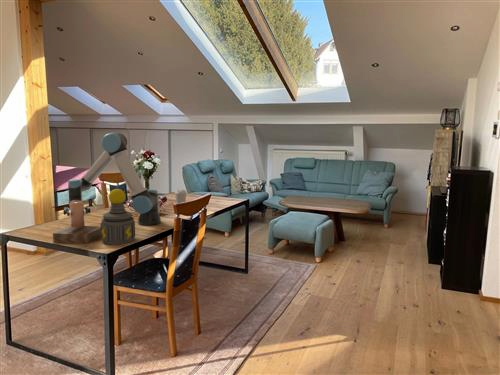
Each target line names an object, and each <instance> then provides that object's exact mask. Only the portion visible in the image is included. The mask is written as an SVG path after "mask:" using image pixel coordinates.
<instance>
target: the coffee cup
mask: <svg viewBox="0 0 500 375" xmlns="http://www.w3.org/2000/svg"><path fill="white" fill-rule="evenodd" d="M174 195H175V202H176V203H181V202H185V203H186V199H187V190H186V189H175V191H174Z"/></svg>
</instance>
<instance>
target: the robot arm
mask: <svg viewBox="0 0 500 375" xmlns="http://www.w3.org/2000/svg"><path fill="white" fill-rule="evenodd" d="M127 146H128V139H127V137H126V136H125V135H124V134H123V133H120V132H110V133H106V134H105V135H104V136H103V137H102V139H101V147H102V149H103V150H104V151H103V152H102V154H101V155H100V156H98V158H97V159H96V160H95V162H94V163H93V164H92V165H91V166H90V168H89V169H88V170H87V171H86V173H85V174H84V175H83V176H82V177H81V178H72V179H69V180H68V184H67V187H68V205H69V207H65V206H64V207H63V215H64V216H67V217H69V218H71V210H70V202H76V201H82V202H83V199H82V198H83V195H82V193H83V192H87V191H88V190H90V189H91V188H92V187H93V186H92V185H93V184H94V182H95V181H96V180H97V179H98V178H99V177H100V175H101V174H103V172H104V170H106V168H107V167H108V166H109V165H110V163H111V162H112V161H114V162H115V164H116V166H117V168H118V170H119V172H120V174H121V176H122V178H123V180H124V182H125V183H126V184H125V185H126V186H127V188H128V190H129V192H130V195H129V197H130V200H131V203H132V204H131V205H132V206H131V207H132V208H133V210H134V211H135V212H136V213H138V214H139V215H138V219H137V224H138V225H142V226H155V224H156V225H159V224H161V223H162V218H161V215H160V212H159V213H158V201H159V193H158V190H157V189H148V188H146V187H144V185H143V184H142V181H141V179H140V178H139V175H138V173H137V171H136V169H135V167H134V165H133V163H132V161H131V159H130V157H129V156H128V151H129V150H128V147H127ZM87 214H91V207H90V206H89V205H86V206H85V205H84V217H86V216H87Z"/></svg>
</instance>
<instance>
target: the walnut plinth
mask: <svg viewBox="0 0 500 375" xmlns="http://www.w3.org/2000/svg"><path fill="white" fill-rule="evenodd" d="M99 237H100V238H101V226H96V225H95V226H94V225H93V226H92V225H85V226H84V227H79V228H73V227H71V224H70V225H68V226H65V227H64V228H61V229H59V230H57V231H55V232H53V233H52V240H53V241H52V242H54V243H67V244H68V243H70V244H89V243H91V242H92V241H94V240H96V239H98V238H99Z"/></svg>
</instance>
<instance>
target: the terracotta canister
mask: <svg viewBox="0 0 500 375" xmlns="http://www.w3.org/2000/svg"><path fill="white" fill-rule="evenodd" d="M84 204H85V203H84V201H83V200H82V201H76V202H70V210H71V217H70V225H71V227H73V228H79V227H84V226H86V225H85V216H84V207H85V205H84Z"/></svg>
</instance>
